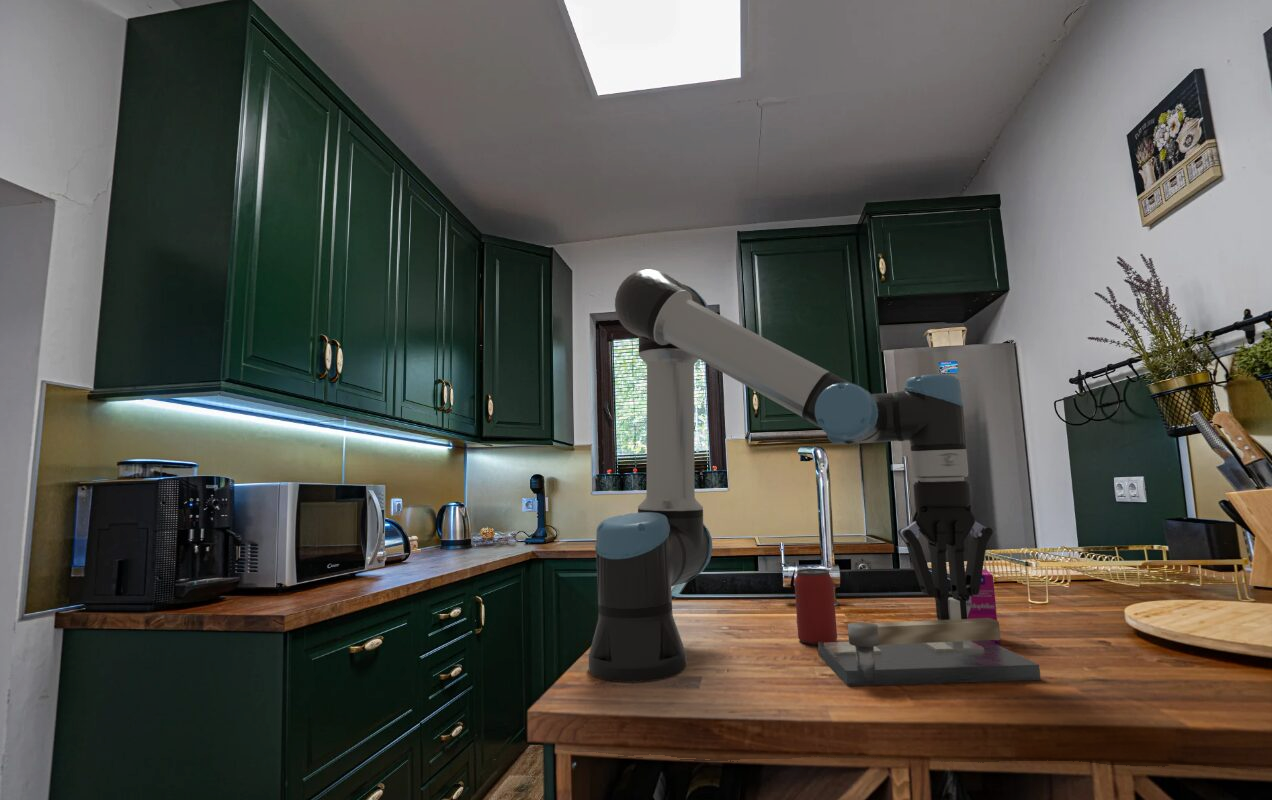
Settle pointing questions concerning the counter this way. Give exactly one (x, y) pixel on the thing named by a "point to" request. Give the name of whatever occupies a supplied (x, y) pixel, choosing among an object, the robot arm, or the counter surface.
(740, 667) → the counter surface
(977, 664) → the board
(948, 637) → the rail
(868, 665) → the post
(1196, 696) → the counter surface
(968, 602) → the supplement box
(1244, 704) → the counter surface
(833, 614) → the beer can
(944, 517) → the robot arm
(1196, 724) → the counter surface
